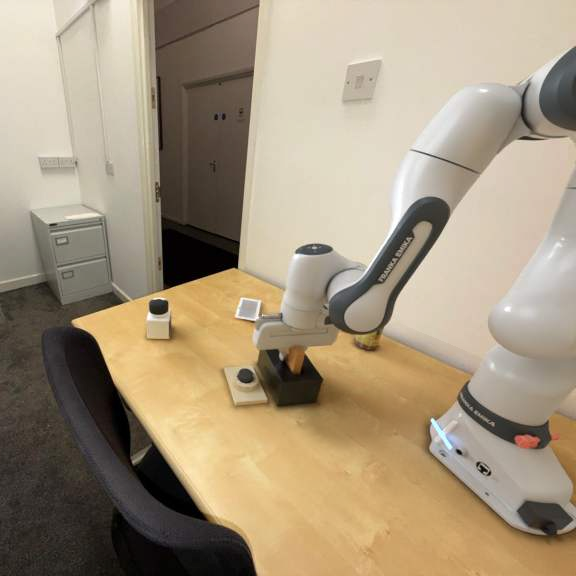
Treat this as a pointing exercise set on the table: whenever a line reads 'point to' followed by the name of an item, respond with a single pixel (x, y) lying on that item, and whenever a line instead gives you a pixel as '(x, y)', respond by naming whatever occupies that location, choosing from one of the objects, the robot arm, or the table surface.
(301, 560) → the table surface
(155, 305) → the medicine bottle
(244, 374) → the button
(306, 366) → the toaster
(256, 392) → the control block
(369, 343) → the sauce bottle
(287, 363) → the toast
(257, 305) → the touchpad
